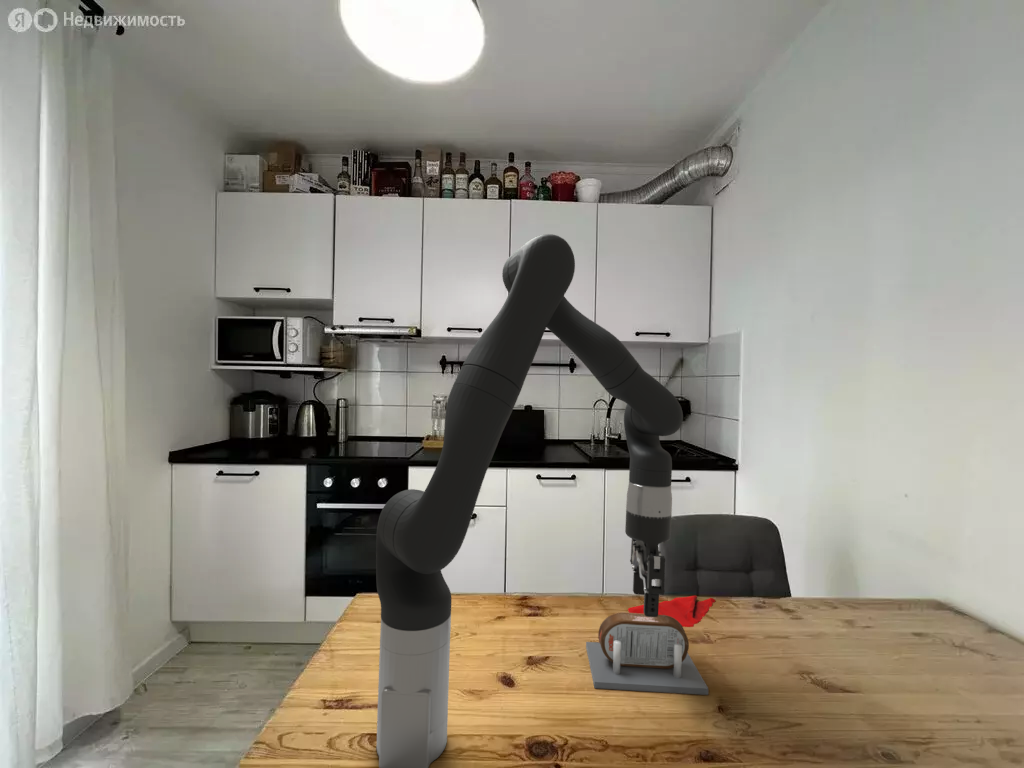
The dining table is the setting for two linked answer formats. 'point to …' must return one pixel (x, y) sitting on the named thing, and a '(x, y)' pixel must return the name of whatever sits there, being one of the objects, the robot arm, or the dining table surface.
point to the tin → (643, 639)
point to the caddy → (644, 673)
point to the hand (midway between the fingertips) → (644, 604)
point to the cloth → (681, 609)
